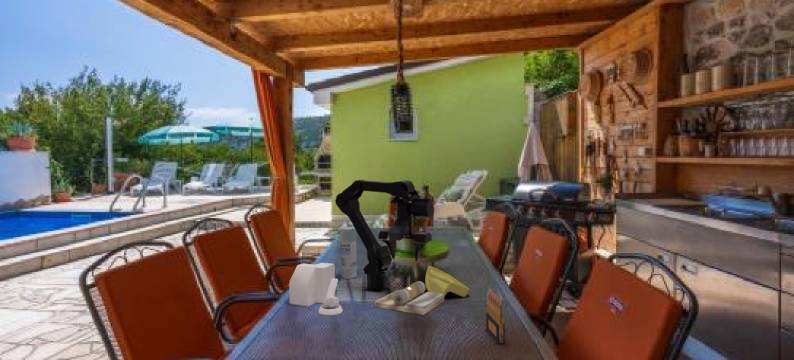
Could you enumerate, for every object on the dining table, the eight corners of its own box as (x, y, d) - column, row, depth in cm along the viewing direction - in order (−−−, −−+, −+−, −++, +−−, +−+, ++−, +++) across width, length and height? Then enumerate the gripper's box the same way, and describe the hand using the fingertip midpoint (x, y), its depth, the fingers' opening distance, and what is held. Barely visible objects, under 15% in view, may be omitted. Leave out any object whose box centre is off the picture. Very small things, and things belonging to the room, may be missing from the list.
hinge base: (373, 306, 161) (373, 288, 161) (397, 294, 175) (397, 277, 175) (423, 314, 153) (423, 296, 152) (444, 300, 167) (444, 283, 166)
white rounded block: (335, 298, 171) (334, 263, 171) (316, 307, 161) (315, 271, 161) (309, 294, 176) (308, 261, 175) (289, 303, 166) (288, 268, 165)
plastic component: (471, 290, 171) (448, 280, 167) (462, 310, 171) (438, 300, 167) (447, 273, 189) (426, 264, 186) (439, 290, 189) (417, 281, 186)
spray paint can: (360, 276, 201) (359, 227, 199) (350, 280, 195) (348, 229, 194) (348, 274, 204) (346, 226, 203) (337, 277, 199) (336, 228, 198)
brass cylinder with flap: (411, 302, 160) (411, 289, 160) (387, 298, 165) (387, 285, 164) (420, 297, 165) (419, 284, 165) (395, 294, 170) (395, 281, 170)
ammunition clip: (485, 329, 140) (485, 287, 139) (492, 329, 140) (492, 287, 139) (498, 344, 129) (498, 299, 128) (505, 343, 129) (505, 298, 129)
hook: (349, 288, 165) (349, 281, 159) (340, 323, 159) (340, 317, 153) (327, 283, 165) (326, 276, 159) (317, 318, 159) (316, 312, 153)
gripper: (369, 217, 172) (370, 262, 173) (417, 220, 163) (418, 267, 164) (386, 213, 182) (386, 255, 183) (432, 216, 173) (432, 260, 174)
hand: (404, 259), depth 175 cm, fingers open, 9 cm apart
